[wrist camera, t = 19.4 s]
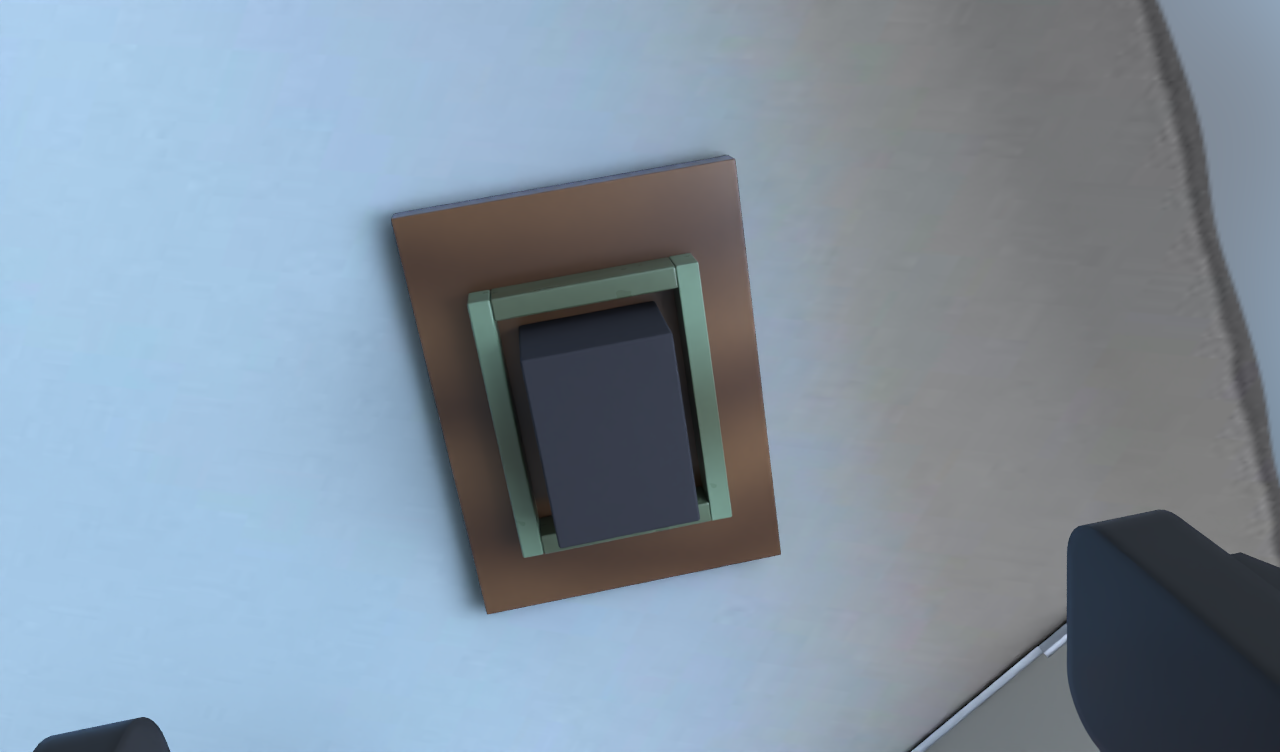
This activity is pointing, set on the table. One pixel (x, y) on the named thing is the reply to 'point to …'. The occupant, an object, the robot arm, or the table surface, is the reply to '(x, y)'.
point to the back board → (577, 284)
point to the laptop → (1020, 710)
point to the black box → (609, 423)
